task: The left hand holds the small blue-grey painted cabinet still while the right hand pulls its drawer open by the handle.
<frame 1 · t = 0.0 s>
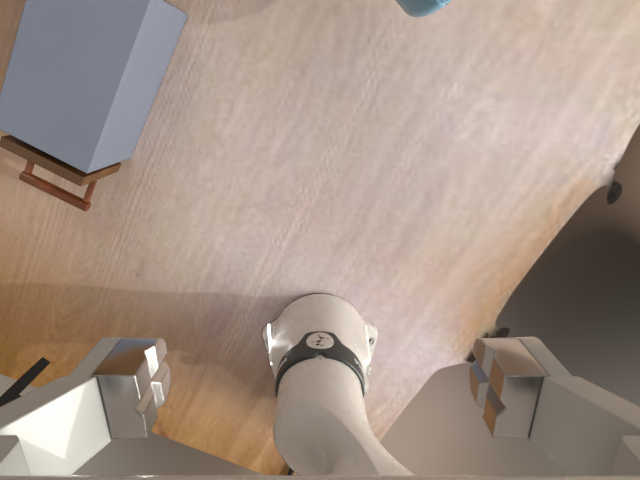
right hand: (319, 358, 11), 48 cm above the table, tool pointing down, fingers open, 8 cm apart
cabinet: (119, 68, 52), on the table
drawer: (81, 110, 49), point 6 cm above the table, slide at 1.1 cm
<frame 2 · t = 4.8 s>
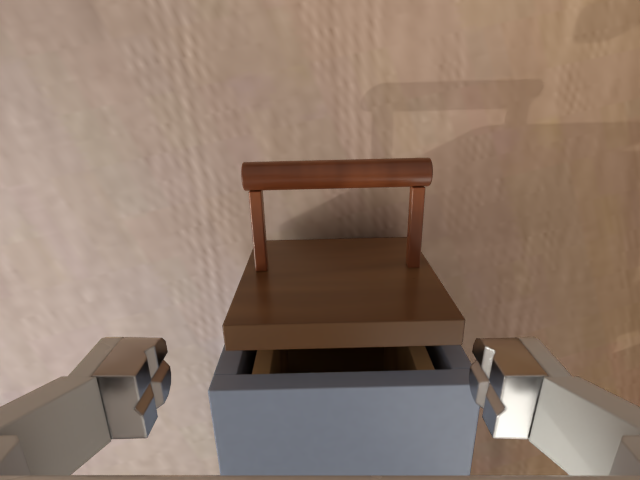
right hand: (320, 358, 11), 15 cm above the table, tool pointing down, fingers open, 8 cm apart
cabinet: (335, 391, 30), on the table, touching left hand
drawer: (338, 381, 23), point 6 cm above the table, slide at 1.1 cm
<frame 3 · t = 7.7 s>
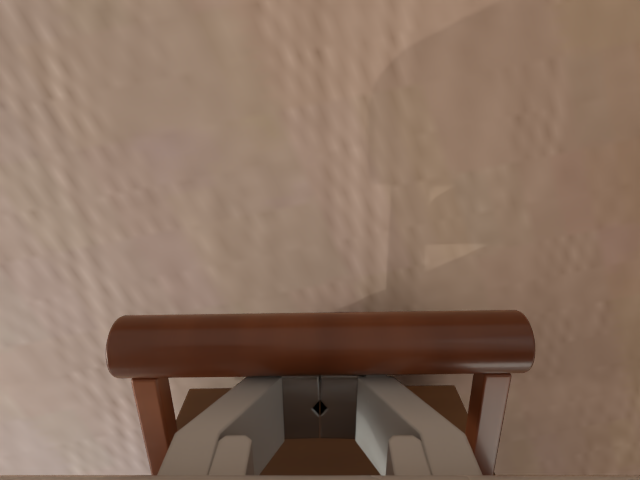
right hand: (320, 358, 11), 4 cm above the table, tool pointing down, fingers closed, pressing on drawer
when the left hand's fingers open (7 cm above the table, at t = 10.3 s): cabinet stays where it is, on the table.
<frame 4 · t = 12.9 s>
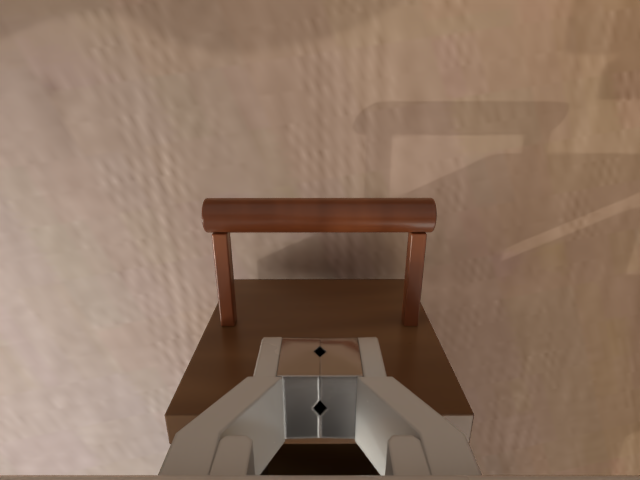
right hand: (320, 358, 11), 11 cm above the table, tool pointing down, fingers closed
drawer: (319, 451, 19), point 6 cm above the table, slide at 6.0 cm
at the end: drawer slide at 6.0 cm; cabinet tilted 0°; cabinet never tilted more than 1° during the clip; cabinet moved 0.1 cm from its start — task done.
